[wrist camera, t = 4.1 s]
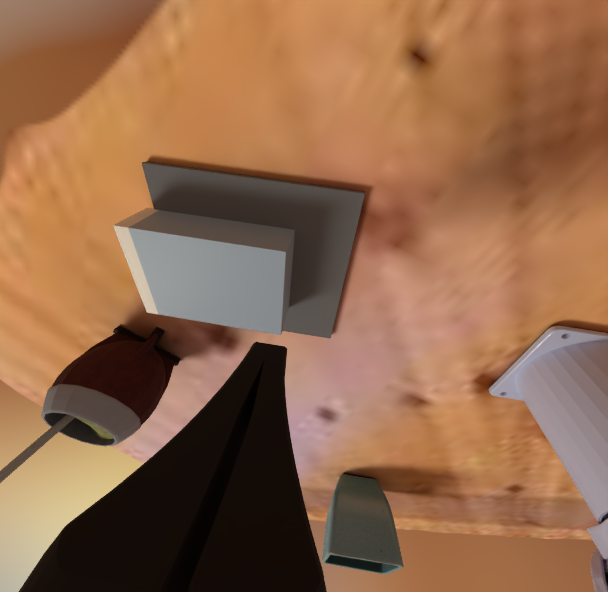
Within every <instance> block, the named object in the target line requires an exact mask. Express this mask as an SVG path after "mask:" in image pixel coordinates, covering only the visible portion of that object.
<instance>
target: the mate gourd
mask: <svg viewBox="0 0 608 592" xmlns="http://www.w3.org/2000/svg"><path fill="white" fill-rule="evenodd" d="M113 332H114V333H115V334H113V335H112V336H110V337H108V338H107V339H105V340H103V341H101V342H100V343H98V344H96V345H95V346H93V347H91V348H90V349H89V350H88V351H86V352H85V353H84V354H83V355H81V356H80V357H79V358H77V359H76V360H74V361H73V362H72V363H71V364H70V365H68V366H67V367H66V368H65V369H64V370H63V371H62V373H61V374H60V375H59V376H58V377H57V379H56V380H55V382H54V384H53V385H52V387H50V388H49V389H48V391H47V394H46V398H45V401H44V405H43V410H42V418H43V420H44V421H45V422H46V424H48V425H49V426H51V428H50V429H49V430H48V431H47V432H45V433H44V434H43V435H42V436H41V437H40V438H38V439H37V440H36V441H35V442H34V443H33V444H31V445H30V446H29V447H28V448H27V449H26V450H24V451H23V452H22V453H21V454H20V455H18V456H17V457H16V458H15V459H14V460H13V461H11V462H10V463H9V464H8V465H7V466H6V467H4V468H3V469H2V470H1V471H0V483H1V482H2V481H3V480H4V479H5V478H6V477H8V476H9V475H10V474H11V473H12V472H13V471H14V470H15V469H17V468H18V467H19V466H20V465H21V464H22V463H23V462H25V460H27V459H28V458H29V457H30V456H31V455H33V454H34V453H35V452H36V451H37V450H38V449H39V448H40V447H42V446H43V445H44V444H45V443H46V442H47V441H48V440H49V439H51V438H52V437H53V436H54V435H55V434H57V433H58V432H60V433H62V434H64V435H66V436H68V437H70V438H73V439H76V440H78V441H81V442H85V443H89V444H93V445H99V446H113V445H116V444H118V443H120V442H122V441H123V440H125V439H127V438H128V437H129V436H131V435H132V434H134V433H135V432H136V431H137V430H138V429H139V428H140V427H141V425H142V424H143V423H144V422H145V421H146V420H147V419H148V418H149V417H150V415H151V414H152V413H153V411H154V410H155V409H156V407H157V405H158V403H159V401H160V399H161V397H162V395H163V393H164V392H165V390H166V388H167V386H168V383H169V380H170V377H171V373H172V369H173V366H174V365H175V366H176V365H178V364H179V361H180V358H178V357H177V356H175V355H173V354H171V353H169V352H167V351H166V350H164V349H162V348H160V347H159V346H157V342H158V341H159V339H160V338H161V337H162V335H163V334H164V332H165V331H164V330H162V329H160V328H158V327H157V328H156V329H155V330H154V331H153V332H152V334H151V335H150V337H149V338H148V339H144V338H142V337H140V336H138V335H136V334H135V333H133V332H131V331H129V330H127V329H125V328H123V327H121V326H118V327H117V328H115V329H114V331H113Z"/></svg>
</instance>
